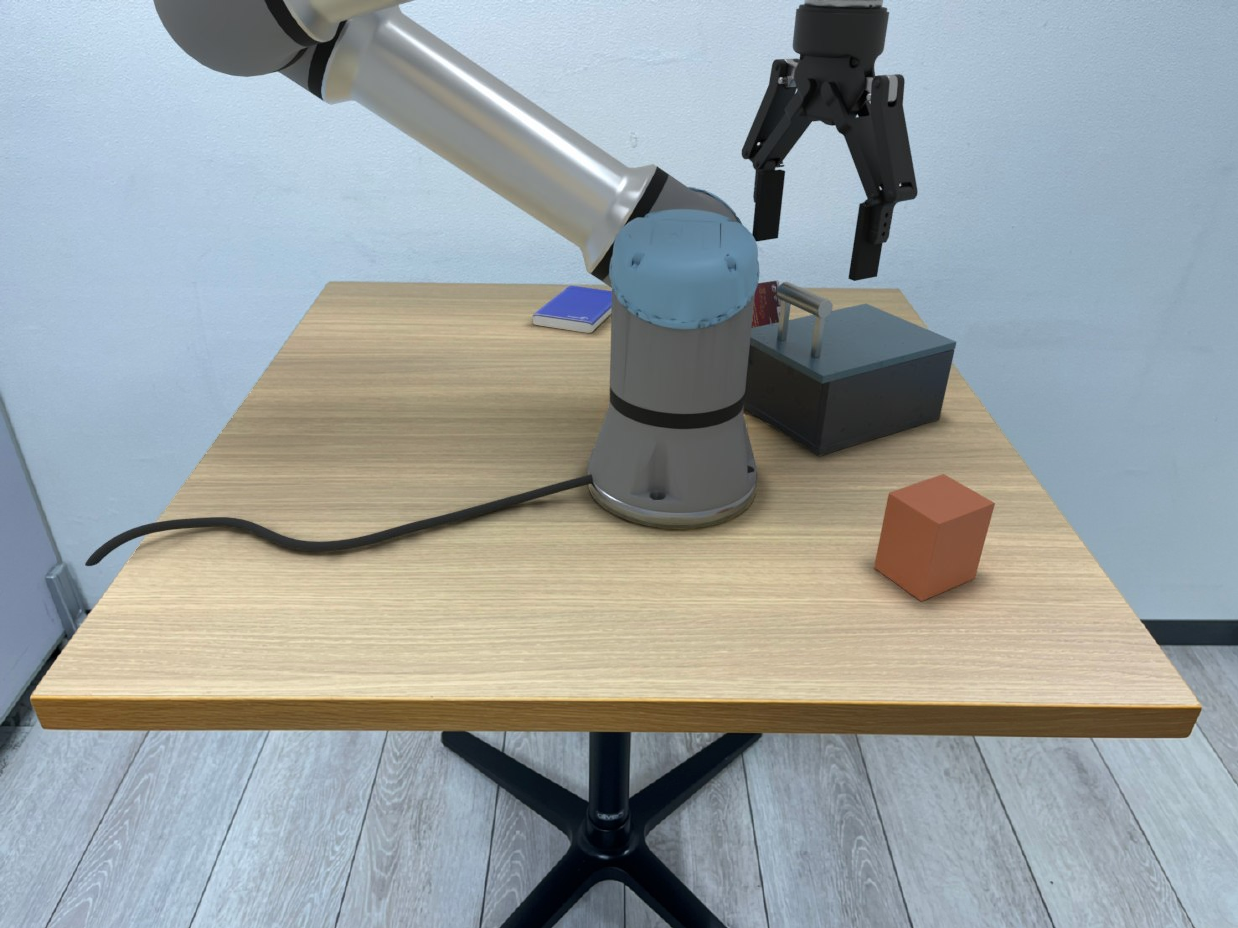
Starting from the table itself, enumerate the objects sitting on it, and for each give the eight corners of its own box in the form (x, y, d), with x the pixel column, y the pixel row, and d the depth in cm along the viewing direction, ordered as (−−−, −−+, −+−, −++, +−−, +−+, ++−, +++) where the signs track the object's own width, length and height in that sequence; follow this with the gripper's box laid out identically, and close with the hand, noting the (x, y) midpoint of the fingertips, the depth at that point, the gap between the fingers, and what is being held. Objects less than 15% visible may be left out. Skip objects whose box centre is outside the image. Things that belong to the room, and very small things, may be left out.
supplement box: (793, 350, 107) (731, 371, 95) (757, 356, 110) (691, 377, 97) (780, 277, 106) (715, 288, 93) (744, 285, 109) (676, 297, 96)
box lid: (821, 384, 84) (831, 316, 81) (737, 338, 94) (743, 275, 90) (955, 349, 92) (968, 286, 89) (865, 310, 102) (874, 251, 98)
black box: (818, 456, 88) (830, 381, 84) (738, 405, 98) (745, 336, 94) (939, 419, 96) (955, 349, 92) (854, 375, 106) (865, 310, 102)
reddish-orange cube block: (921, 601, 69) (939, 524, 65) (873, 567, 72) (888, 492, 69) (975, 578, 72) (995, 502, 68) (926, 546, 75) (943, 473, 72)
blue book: (592, 321, 114) (624, 292, 125) (532, 313, 116) (568, 284, 127) (592, 333, 115) (623, 303, 125) (532, 324, 117) (568, 295, 128)
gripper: (999, 12, 67) (942, 290, 77) (780, -6, 86) (758, 221, 96) (927, 13, 64) (878, 303, 74) (716, -5, 82) (700, 229, 93)
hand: (810, 257), depth 85 cm, fingers open, 13 cm apart
